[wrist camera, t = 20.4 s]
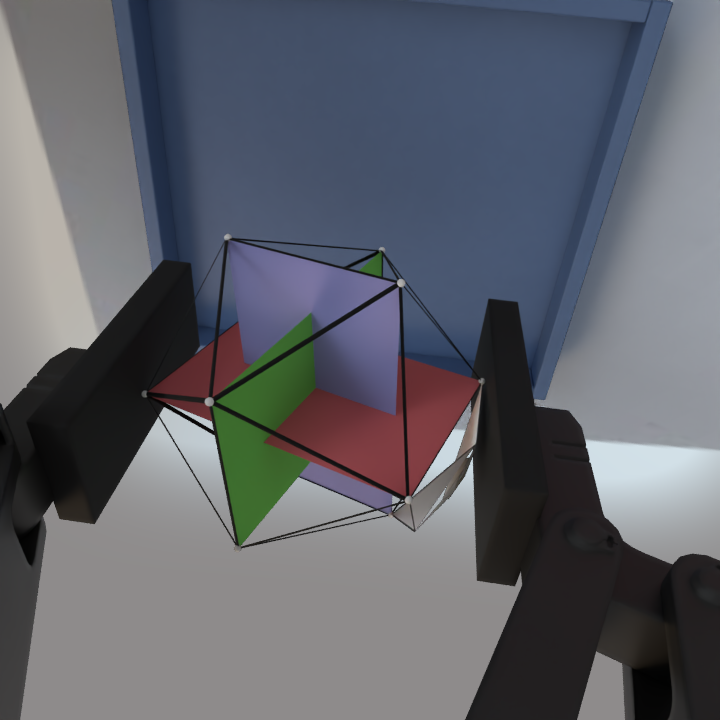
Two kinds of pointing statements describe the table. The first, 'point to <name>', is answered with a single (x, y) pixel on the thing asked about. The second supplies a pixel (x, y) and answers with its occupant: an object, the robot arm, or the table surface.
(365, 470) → the wire icosahedron model
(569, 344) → the table surface
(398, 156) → the blue tray
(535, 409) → the robot arm
